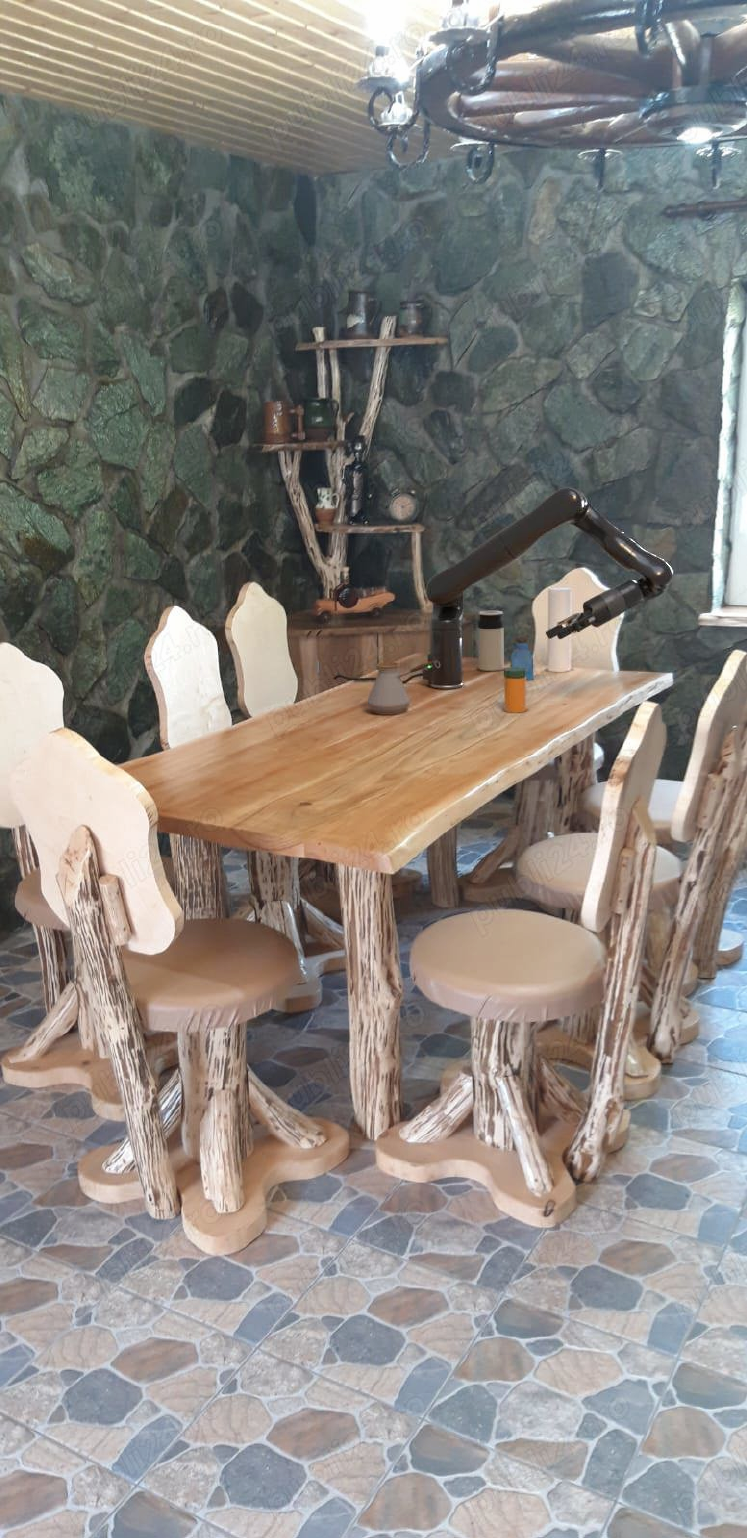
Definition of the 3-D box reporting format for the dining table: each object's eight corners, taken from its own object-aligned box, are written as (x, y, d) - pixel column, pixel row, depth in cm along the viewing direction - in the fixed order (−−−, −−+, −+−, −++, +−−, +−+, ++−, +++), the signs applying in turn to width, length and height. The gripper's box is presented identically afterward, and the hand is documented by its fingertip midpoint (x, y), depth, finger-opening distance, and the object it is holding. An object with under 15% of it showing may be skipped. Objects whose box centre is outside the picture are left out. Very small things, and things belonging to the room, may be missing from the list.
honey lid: (500, 677, 308) (500, 670, 308) (509, 673, 313) (509, 666, 313) (520, 678, 305) (520, 671, 305) (529, 674, 310) (529, 668, 310)
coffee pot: (359, 713, 313) (357, 658, 309) (382, 705, 322) (381, 651, 318) (428, 721, 302) (427, 663, 298) (450, 713, 311) (450, 656, 307)
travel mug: (486, 672, 366) (485, 614, 361) (473, 668, 373) (473, 611, 368) (508, 669, 369) (508, 612, 364) (495, 666, 376) (495, 609, 371)
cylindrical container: (547, 671, 363) (547, 590, 357) (547, 667, 370) (548, 587, 364) (570, 671, 362) (571, 590, 356) (570, 667, 369) (571, 587, 362)
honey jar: (500, 711, 311) (500, 671, 308) (509, 707, 315) (509, 668, 313) (520, 713, 308) (520, 673, 305) (529, 709, 312) (529, 669, 310)
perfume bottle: (533, 679, 352) (533, 639, 349) (512, 680, 352) (512, 640, 349) (530, 675, 358) (531, 636, 355) (510, 676, 358) (510, 637, 355)
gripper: (589, 595, 319) (537, 623, 317) (608, 593, 305) (555, 623, 303) (601, 619, 320) (549, 647, 319) (620, 619, 306) (567, 649, 305)
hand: (552, 635), depth 311 cm, fingers open, 8 cm apart
